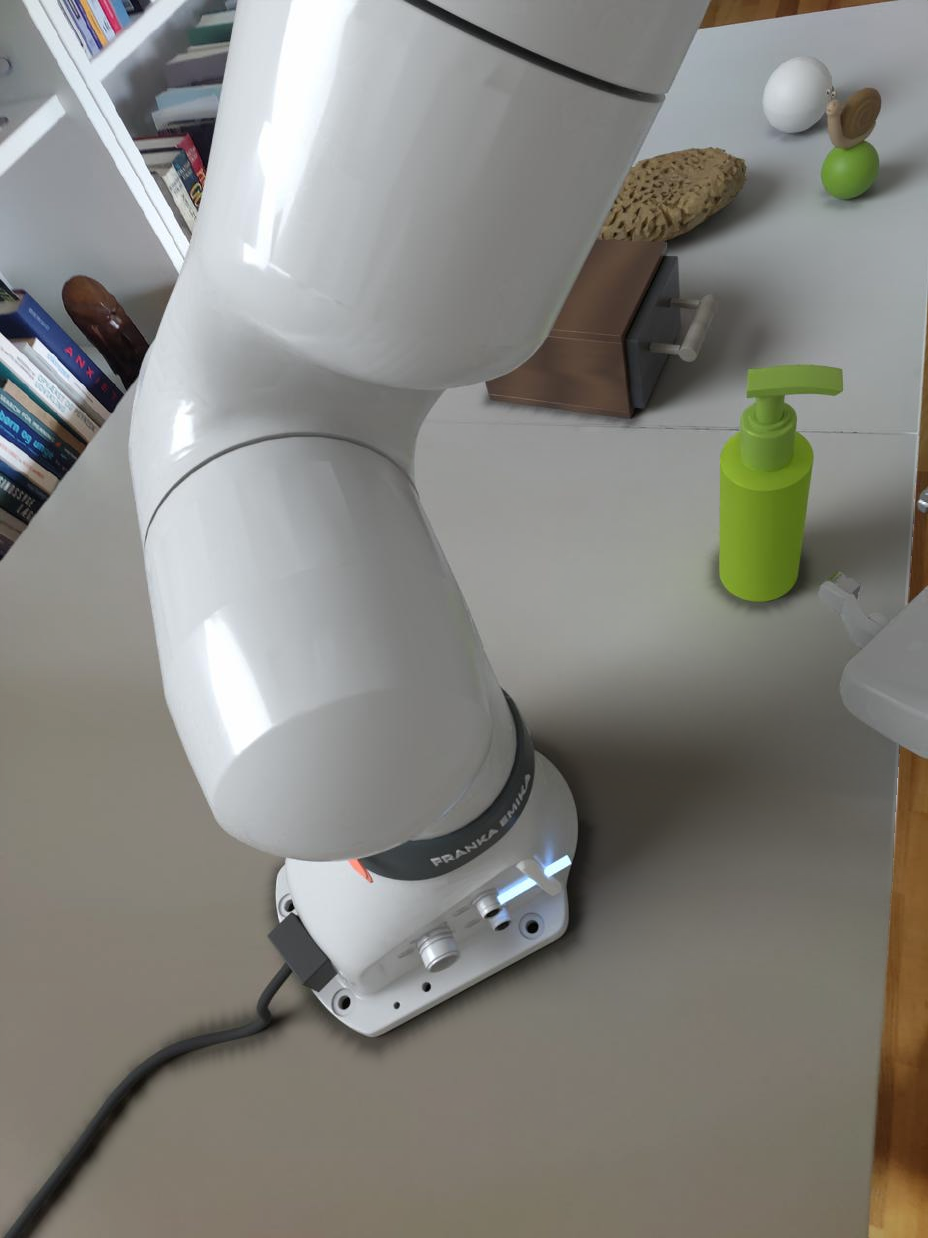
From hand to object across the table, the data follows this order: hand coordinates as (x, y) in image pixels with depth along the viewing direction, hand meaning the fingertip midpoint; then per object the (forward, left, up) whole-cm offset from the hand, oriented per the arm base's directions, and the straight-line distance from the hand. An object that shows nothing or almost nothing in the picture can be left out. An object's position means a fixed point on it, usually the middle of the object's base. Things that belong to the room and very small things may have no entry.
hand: (876, 537), depth 53 cm
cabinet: (+6, +38, -11) cm, 40 cm away
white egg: (+48, +50, -11) cm, 70 cm away
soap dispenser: (0, +8, -11) cm, 14 cm away
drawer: (+8, +35, -10) cm, 37 cm away
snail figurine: (+40, +36, -11) cm, 55 cm away
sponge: (+24, +49, -11) cm, 56 cm away
